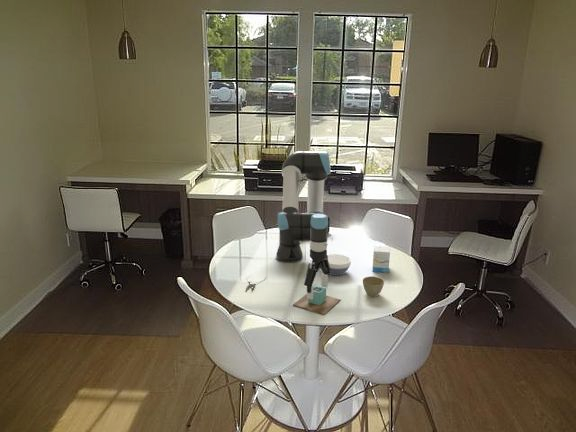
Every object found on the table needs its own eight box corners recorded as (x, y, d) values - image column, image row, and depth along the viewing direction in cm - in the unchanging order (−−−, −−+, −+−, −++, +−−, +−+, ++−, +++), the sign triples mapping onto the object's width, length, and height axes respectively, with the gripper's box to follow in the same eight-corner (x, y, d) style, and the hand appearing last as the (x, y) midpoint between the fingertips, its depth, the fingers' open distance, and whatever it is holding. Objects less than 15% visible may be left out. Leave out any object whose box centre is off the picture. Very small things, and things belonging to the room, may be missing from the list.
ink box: (388, 273, 238) (390, 252, 235) (372, 271, 240) (373, 251, 237) (388, 266, 246) (389, 246, 243) (372, 265, 248) (373, 245, 245)
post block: (292, 305, 203) (293, 292, 201) (310, 292, 216) (310, 279, 214) (324, 315, 195) (324, 301, 193) (340, 300, 208) (341, 287, 206)
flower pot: (359, 290, 218) (360, 276, 216) (379, 289, 219) (380, 276, 217) (364, 299, 209) (365, 285, 207) (385, 299, 210) (386, 285, 208)
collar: (308, 302, 204) (308, 290, 203) (314, 297, 209) (314, 285, 207) (319, 305, 201) (320, 293, 199) (325, 300, 206) (326, 288, 204)
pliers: (266, 274, 235) (265, 290, 216) (266, 275, 235) (265, 292, 216) (247, 274, 235) (245, 291, 215) (247, 275, 235) (245, 292, 216)
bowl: (334, 264, 248) (335, 252, 246) (355, 272, 239) (356, 259, 236) (317, 272, 239) (317, 258, 237) (338, 280, 229) (338, 266, 227)
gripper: (311, 260, 186) (310, 306, 192) (338, 242, 206) (336, 284, 212) (296, 256, 190) (295, 301, 196) (324, 239, 210) (322, 280, 216)
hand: (317, 292), depth 204 cm, fingers open, 13 cm apart
